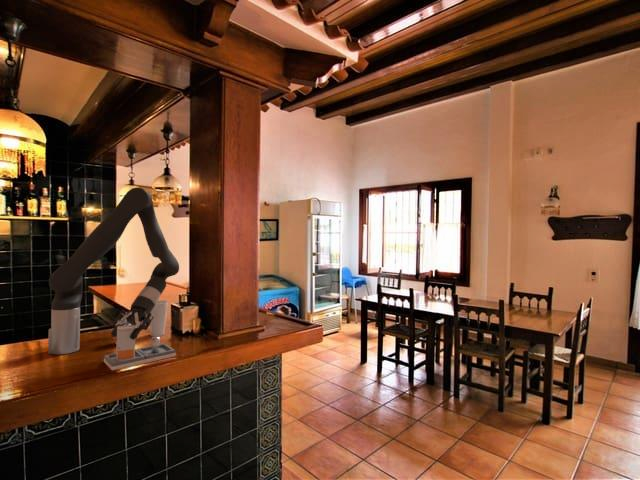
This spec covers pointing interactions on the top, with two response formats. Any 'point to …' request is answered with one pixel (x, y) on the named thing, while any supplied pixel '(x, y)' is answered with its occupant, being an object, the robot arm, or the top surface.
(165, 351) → the board
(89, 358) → the top surface
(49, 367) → the top surface
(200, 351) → the top surface
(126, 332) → the skincare box
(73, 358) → the top surface
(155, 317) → the cup
